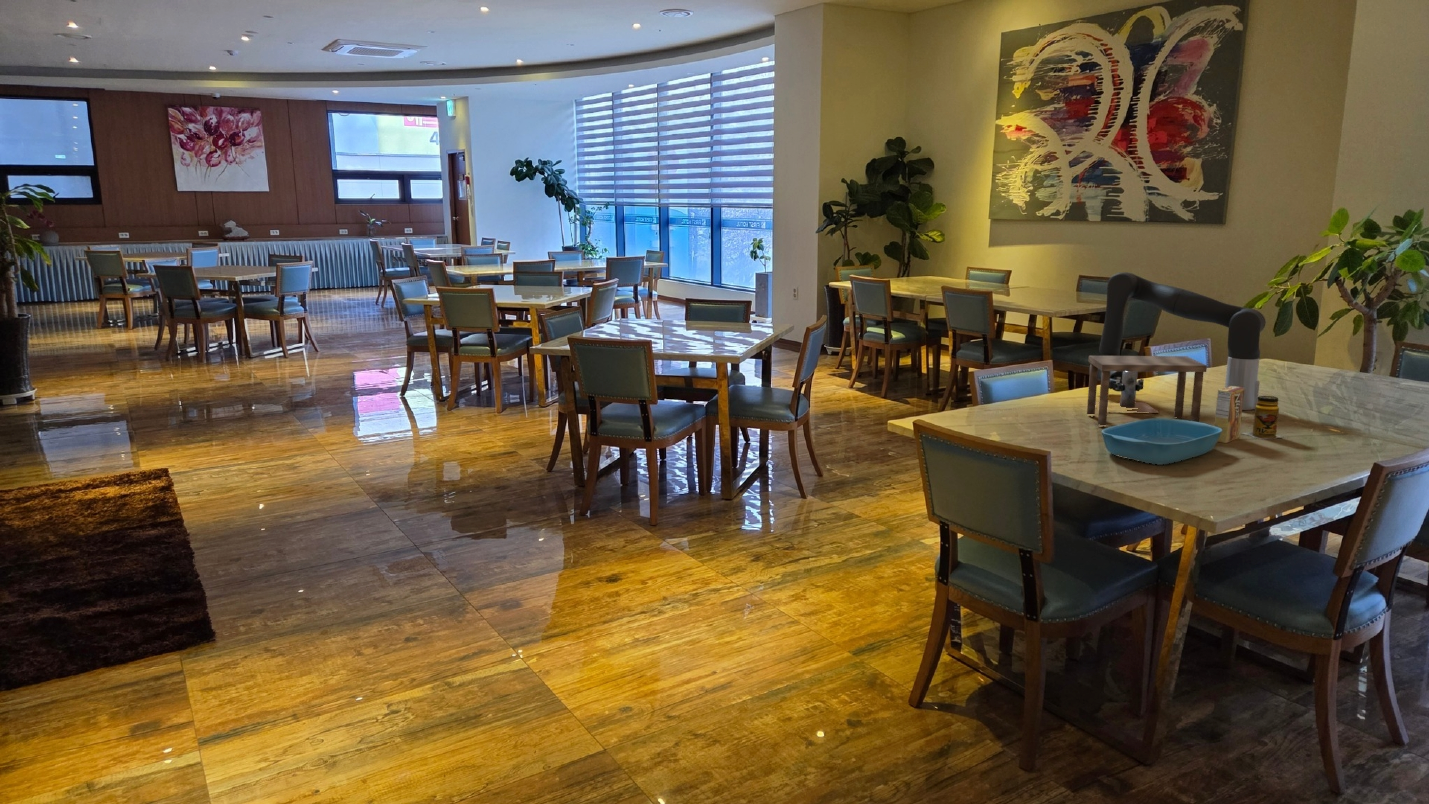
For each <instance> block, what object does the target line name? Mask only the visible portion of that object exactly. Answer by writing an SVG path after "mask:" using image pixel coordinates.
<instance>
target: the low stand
mask: <svg viewBox="0 0 1429 804" xmlns="http://www.w3.org/2000/svg"><path fill="white" fill-rule="evenodd" d="M1088 363H1089V364H1090V365H1089V368H1090V373H1089V379H1088V380H1089V381H1088V391H1087V392H1088V393H1087V409H1086V415H1087V414H1095V415H1096V408H1095V405H1096V402H1097V390H1098V389H1097V387H1098V385H1097V384H1098V380H1097V375H1098V369H1100V370H1101V371H1102V373H1101V381H1100V387H1099V388H1100V390H1099V392H1100V393H1099V401H1098V402H1099V411H1098V417H1097V418H1098V419H1097V420H1098V421H1097V425H1098V424H1100V425H1106V426H1107V418H1108V413H1107V407H1108V402H1109V391H1110V389H1109V379H1110V371H1138V372H1139V373H1140V372H1147V373H1148V372H1150V373H1151V372H1153V373H1154V372H1157V373H1158V372H1159V373H1161V372H1163V373H1171V372H1172V373H1177V381H1176V389H1175V390H1176V392H1175V403H1174V417H1177V418H1182V419H1183V415H1184V406H1185V405H1184V404H1185V403H1184V402H1185V393H1186V392H1185V391H1186V383H1187V373H1194V375H1193V387H1192V398H1191V399H1192V400H1191V412H1190V420H1189V421H1194V422H1200V417H1201V415H1200V414H1201V407H1202V406H1201V405H1202V393H1203V382H1204V373H1207V368H1208V366H1207V364H1204V363H1202V362H1200V361H1198V360H1196V359H1193V358H1192V357H1189V356H1185V355H1180V356H1179V355H1178V356H1177V355H1175V356H1174V355H1173V356H1172V355H1171V356H1170V355H1120V356H1108V355H1088ZM1174 417H1173V418H1174ZM1177 418H1176V419H1177Z"/></svg>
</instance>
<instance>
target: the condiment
mask: <svg viewBox="0 0 1429 804" xmlns="http://www.w3.org/2000/svg"><path fill="white" fill-rule="evenodd" d="M1257 399H1258V401H1257V405H1256V406H1255V409H1254V417H1253V418H1254V419H1253V424H1252V431H1251V432H1250V431H1249V432H1241V434H1243V435H1246V436H1250V437H1253V438H1255V439H1256V438H1257V439H1260V440H1274V439H1279V438H1282V436H1280V435H1277V429H1278V422H1279V421H1278V420H1279V414H1280V407H1279V406H1278V405H1279V397H1277V396H1273V395H1258V398H1257Z"/></svg>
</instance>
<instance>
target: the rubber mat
mask: <svg viewBox="0 0 1429 804" xmlns="http://www.w3.org/2000/svg"><path fill="white" fill-rule="evenodd" d="M1135 402H1136V403H1135V407H1133V408H1138V409H1132V410H1127V411H1137V412H1149V413H1158V414H1159V411H1158V410H1157V409H1155V408H1153V407H1152V406H1150V405H1149V404H1148V403H1146V402H1144V401H1135Z"/></svg>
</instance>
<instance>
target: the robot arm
mask: <svg viewBox="0 0 1429 804" xmlns="http://www.w3.org/2000/svg"><path fill="white" fill-rule="evenodd" d="M1128 299H1132V300H1136V301H1142V302H1144V303H1148V304H1151V305H1153V306H1154V307H1156V308H1158V309H1160V310H1161V311H1164V312H1166V313H1169V314H1171V315H1173V316H1175V317H1176V316H1177V317H1180V318H1183V319H1187V320H1191V321H1192V320H1193V321H1198V322H1205V323H1212V324H1217V325H1220V326H1223V327H1226V328H1228V331H1227V332H1228V333H1227V334H1228V335H1227V353H1228V355H1227V362H1226V363H1227V364H1226V375H1225V385H1224V388H1226V387H1230V386H1235V387H1242V388H1245V390H1244V399H1243V407H1242V411H1252V410H1255V406H1256V405H1257V401H1258V399H1257V398H1258V397H1259V393H1260V391H1259V390H1260V382H1261V381H1259V380H1258V377H1259V366H1260V358H1261V349H1260V337H1261V335H1260V334H1261V332H1262V331H1263V330H1264V328H1266V324H1267V323H1266V317H1265V316H1264V314H1263V313H1262V312H1261V311H1259V310H1256V309H1254V308H1249V307H1243V306H1238V305H1232V304H1230V303H1229V304H1228V303H1225V302H1222V301H1219V300H1218V299H1214V298H1211V297H1208V296H1207V295H1203V294H1201V293H1197V292H1195V291H1191V290H1187V289H1184V288H1180V287H1176V286H1171V285H1166V284H1161V283H1157V282H1154V281H1151V280H1148V279H1146V278H1143V277H1141V276H1138V275H1136V274H1135V273H1132V272H1128V271H1127V272H1126V271H1125V272H1124V271H1123V272H1118V273H1115V274H1113V275H1111V276H1110V278H1109V279H1108V281H1107V286H1106V307H1105V315H1104V317H1105V318H1104V322H1103V329H1102V333H1101V338H1100V343H1099V348H1098V350H1099V351H1098V352H1099V353H1100V354H1103V356H1121V355H1120V353H1121V346H1122V342H1123V338H1124V337H1123V336H1124V314H1125V308H1126V305H1127V302H1128ZM1088 371H1089V372H1088V373H1089V374H1090V367H1089V368H1088ZM1101 373H1102V371H1101V370H1100V369H1098V375H1097V381H1099V382H1101ZM1122 375H1123V371H1110V379H1109V390H1113V391H1115V392H1120V393H1121V391H1123V387H1124V385H1123V384H1122ZM1144 380H1145V379H1144V378H1141V379H1137V385H1136V392H1140V391H1142V390H1143V389H1144Z"/></svg>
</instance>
